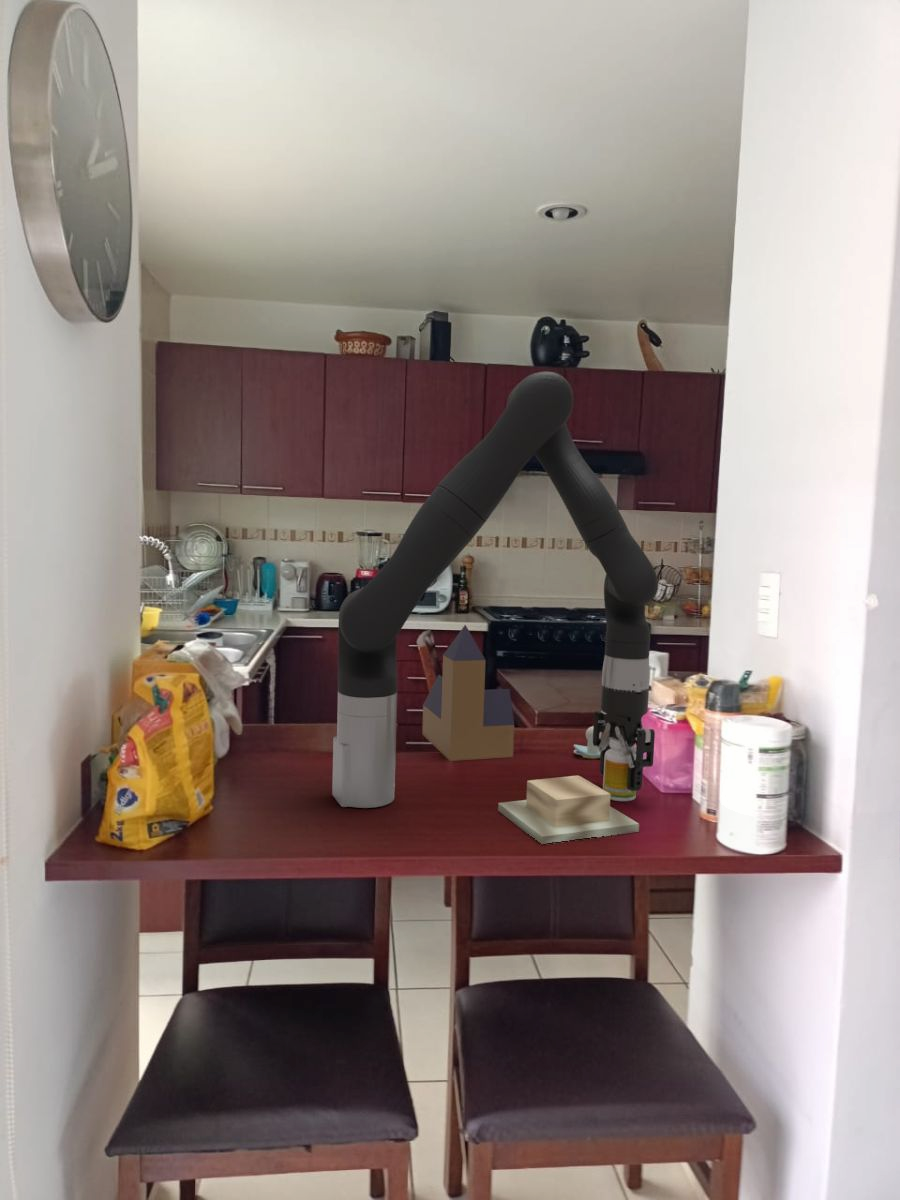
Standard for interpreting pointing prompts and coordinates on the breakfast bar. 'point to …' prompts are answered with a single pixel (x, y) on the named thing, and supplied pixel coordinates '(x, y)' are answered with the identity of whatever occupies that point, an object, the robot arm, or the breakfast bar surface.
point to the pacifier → (588, 746)
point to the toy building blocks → (467, 707)
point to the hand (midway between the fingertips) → (619, 782)
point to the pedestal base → (568, 831)
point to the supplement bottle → (617, 773)
